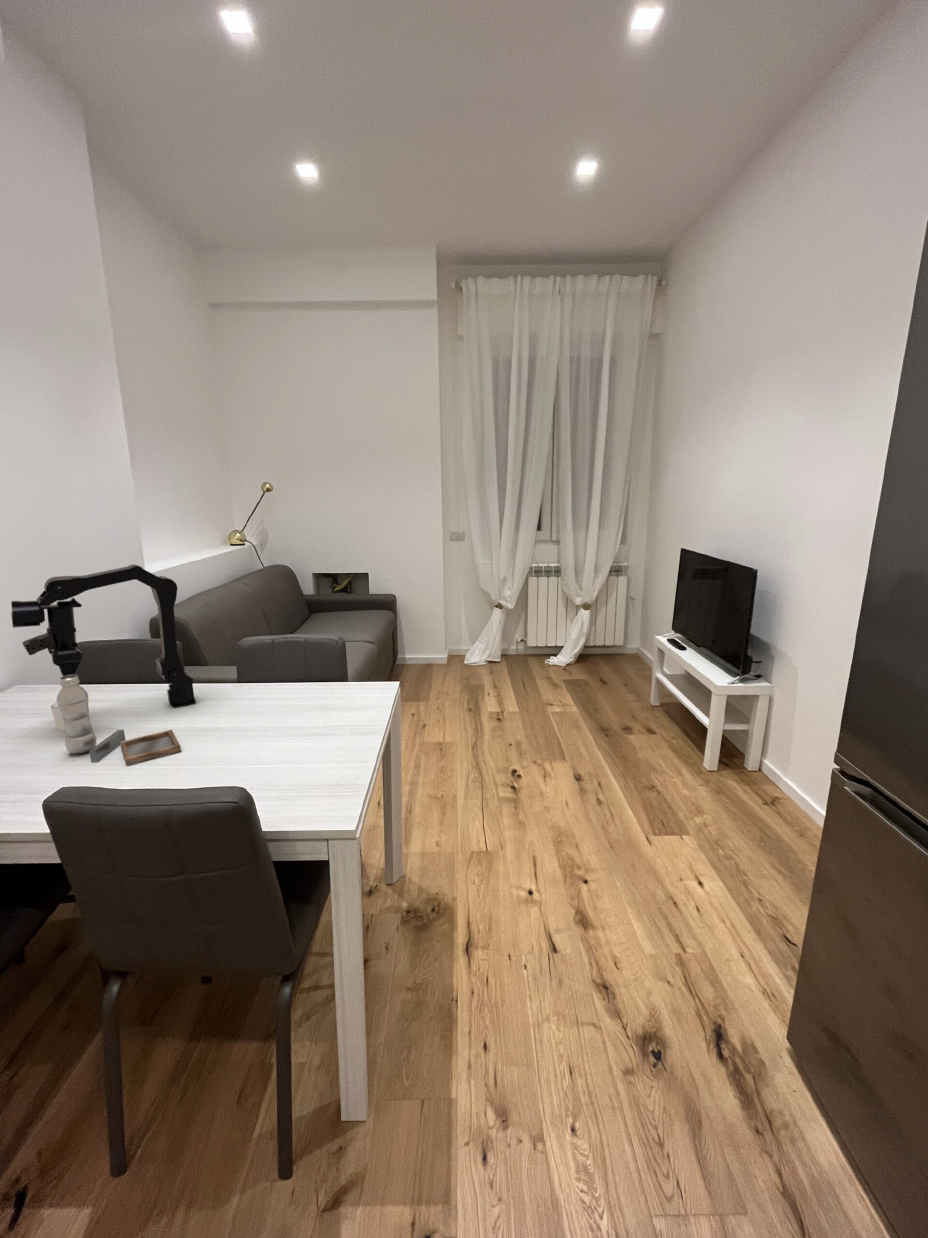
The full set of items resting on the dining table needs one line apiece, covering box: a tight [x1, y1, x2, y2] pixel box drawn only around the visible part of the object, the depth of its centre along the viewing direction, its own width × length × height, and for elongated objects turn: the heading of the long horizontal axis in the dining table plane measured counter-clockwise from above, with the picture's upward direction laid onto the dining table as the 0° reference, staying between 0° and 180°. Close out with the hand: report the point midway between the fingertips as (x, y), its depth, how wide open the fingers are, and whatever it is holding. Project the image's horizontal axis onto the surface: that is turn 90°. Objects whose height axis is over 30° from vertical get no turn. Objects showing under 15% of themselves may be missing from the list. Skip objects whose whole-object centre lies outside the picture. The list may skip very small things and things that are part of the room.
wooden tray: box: [119, 729, 182, 767], centre depth 140 cm, size 12×12×2 cm
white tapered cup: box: [50, 702, 65, 732], centre depth 153 cm, size 7×7×7 cm
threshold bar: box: [88, 729, 126, 763], centre depth 140 cm, size 12×2×3 cm, turn 1°
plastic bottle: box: [55, 674, 98, 755], centre depth 137 cm, size 6×7×20 cm
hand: (66, 679), depth 150 cm, fingers open, 9 cm apart
